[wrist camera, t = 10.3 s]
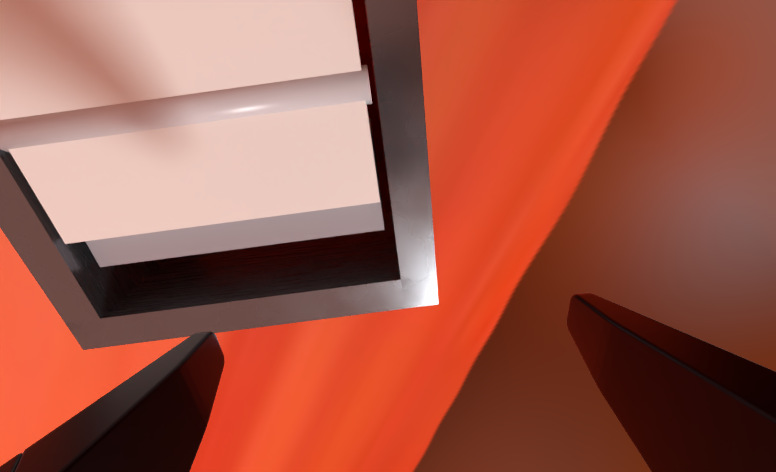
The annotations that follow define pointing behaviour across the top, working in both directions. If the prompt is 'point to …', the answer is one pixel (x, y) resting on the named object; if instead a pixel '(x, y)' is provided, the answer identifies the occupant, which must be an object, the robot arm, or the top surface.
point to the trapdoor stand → (263, 263)
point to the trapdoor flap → (189, 122)
